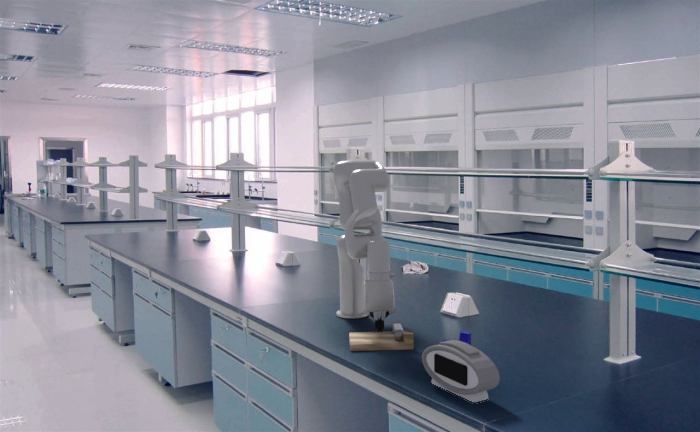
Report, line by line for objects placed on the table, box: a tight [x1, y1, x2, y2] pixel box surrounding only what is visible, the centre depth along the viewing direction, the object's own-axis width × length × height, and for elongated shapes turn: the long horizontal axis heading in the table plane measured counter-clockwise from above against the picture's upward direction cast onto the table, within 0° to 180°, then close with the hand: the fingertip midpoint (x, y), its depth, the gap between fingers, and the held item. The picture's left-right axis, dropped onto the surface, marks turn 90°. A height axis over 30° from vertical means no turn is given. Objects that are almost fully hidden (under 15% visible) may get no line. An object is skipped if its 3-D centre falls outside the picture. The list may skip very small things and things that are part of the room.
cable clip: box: [442, 331, 472, 346], centre depth 187 cm, size 12×4×6 cm, turn 141°
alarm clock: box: [421, 339, 501, 402], centre depth 157 cm, size 23×6×13 cm, turn 31°
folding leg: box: [392, 320, 406, 341], centre depth 202 cm, size 13×3×3 cm, turn 1°
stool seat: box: [348, 330, 415, 352], centre depth 201 cm, size 14×20×5 cm
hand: (379, 331), depth 205 cm, fingers closed
